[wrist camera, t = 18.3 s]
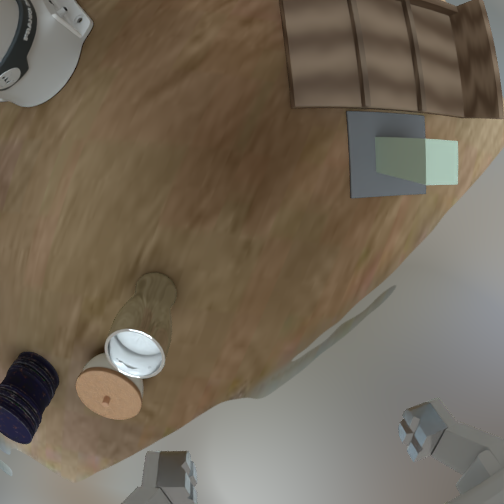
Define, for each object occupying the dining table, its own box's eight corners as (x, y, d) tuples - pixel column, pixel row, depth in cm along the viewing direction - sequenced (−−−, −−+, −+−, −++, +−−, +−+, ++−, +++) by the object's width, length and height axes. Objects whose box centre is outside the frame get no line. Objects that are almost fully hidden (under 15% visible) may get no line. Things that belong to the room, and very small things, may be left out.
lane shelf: (461, 117, 39) (504, 119, 30) (291, 108, 37) (314, 98, 28) (445, 14, 33) (483, 0, 24) (276, -16, 31) (292, -51, 22)
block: (405, 171, 41) (457, 184, 30) (376, 172, 41) (425, 185, 30) (404, 137, 40) (457, 141, 28) (374, 136, 39) (425, 138, 28)
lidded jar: (122, 397, 50) (112, 434, 41) (78, 359, 46) (60, 394, 38) (161, 372, 49) (154, 412, 40) (114, 329, 45) (98, 366, 36)
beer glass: (155, 259, 42) (129, 314, 28) (190, 294, 44) (180, 359, 30) (123, 288, 43) (90, 349, 29) (157, 320, 45) (138, 389, 31)
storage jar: (68, 390, 49) (43, 447, 35) (33, 391, 48) (6, 441, 34) (43, 348, 45) (8, 404, 31) (9, 352, 45) (-26, 401, 31)
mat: (424, 193, 43) (425, 193, 43) (350, 197, 42) (351, 198, 42) (422, 115, 39) (424, 115, 39) (346, 111, 38) (347, 111, 38)
